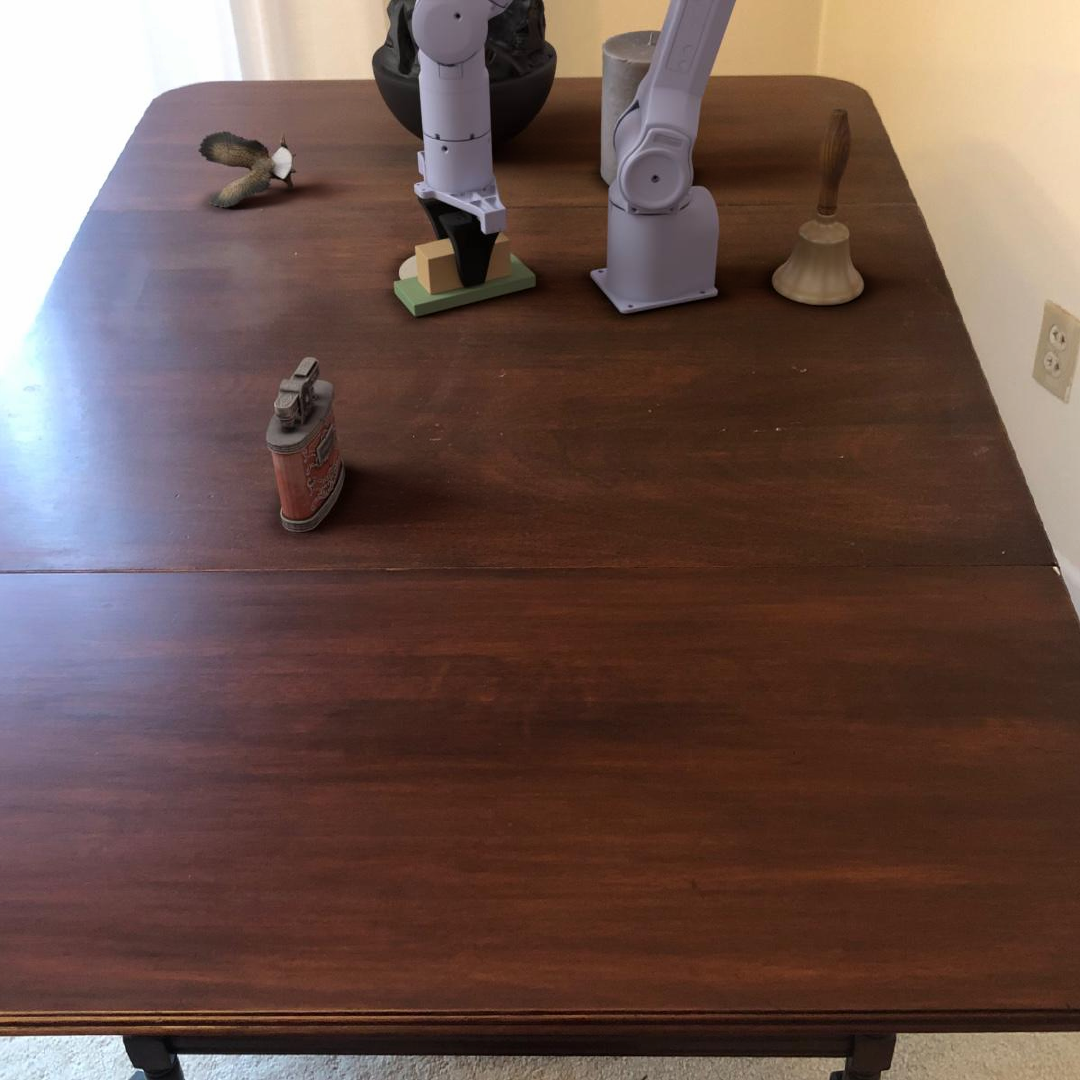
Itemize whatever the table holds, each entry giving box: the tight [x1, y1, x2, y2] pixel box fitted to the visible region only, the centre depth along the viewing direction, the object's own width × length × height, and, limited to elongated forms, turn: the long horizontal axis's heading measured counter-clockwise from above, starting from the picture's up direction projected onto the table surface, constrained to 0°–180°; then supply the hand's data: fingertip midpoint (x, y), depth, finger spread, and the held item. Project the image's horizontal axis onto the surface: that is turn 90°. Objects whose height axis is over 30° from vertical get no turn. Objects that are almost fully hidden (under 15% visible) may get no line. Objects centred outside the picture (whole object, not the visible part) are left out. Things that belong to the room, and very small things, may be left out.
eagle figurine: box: [198, 130, 297, 208], centre depth 127 cm, size 8×7×9 cm
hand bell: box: [771, 108, 865, 306], centre depth 107 cm, size 8×8×16 cm
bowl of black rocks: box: [371, 0, 558, 149], centre depth 132 cm, size 20×20×19 cm
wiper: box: [393, 231, 537, 318], centre depth 111 cm, size 5×12×5 cm, turn 117°
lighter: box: [265, 356, 346, 533], centre depth 85 cm, size 8×3×10 cm, turn 168°
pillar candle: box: [600, 29, 661, 187], centre depth 126 cm, size 10×10×15 cm
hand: (465, 275), depth 111 cm, fingers closed on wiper, 3 cm apart
